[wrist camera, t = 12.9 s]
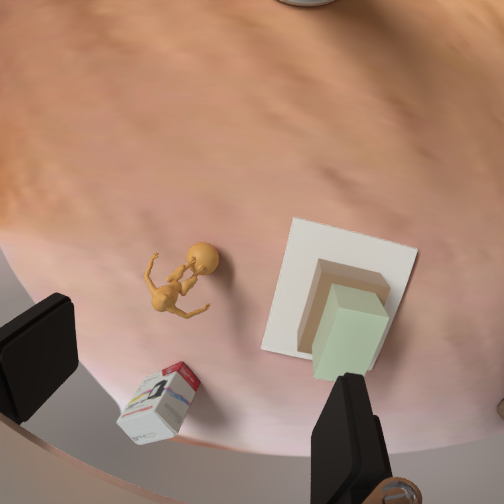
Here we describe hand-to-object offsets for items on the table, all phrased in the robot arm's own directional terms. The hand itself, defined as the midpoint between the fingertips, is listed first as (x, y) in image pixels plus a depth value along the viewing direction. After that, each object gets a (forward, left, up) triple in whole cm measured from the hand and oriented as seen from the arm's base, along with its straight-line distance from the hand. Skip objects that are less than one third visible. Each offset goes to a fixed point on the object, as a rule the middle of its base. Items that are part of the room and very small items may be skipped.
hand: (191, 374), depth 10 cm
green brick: (+8, +11, -24) cm, 27 cm away
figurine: (+7, -7, -30) cm, 32 cm away
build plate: (+8, +11, -30) cm, 33 cm away
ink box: (+28, -9, -30) cm, 42 cm away
